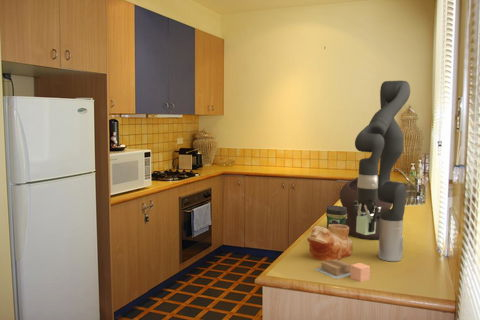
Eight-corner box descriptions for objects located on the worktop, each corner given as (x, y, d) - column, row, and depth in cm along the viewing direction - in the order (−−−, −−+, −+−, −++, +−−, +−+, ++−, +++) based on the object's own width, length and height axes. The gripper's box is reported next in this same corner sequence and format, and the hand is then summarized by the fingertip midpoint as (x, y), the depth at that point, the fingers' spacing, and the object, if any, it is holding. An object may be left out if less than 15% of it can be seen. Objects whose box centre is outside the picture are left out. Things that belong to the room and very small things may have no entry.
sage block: (365, 230, 179) (366, 215, 178) (375, 233, 175) (376, 218, 174) (356, 231, 177) (356, 216, 176) (365, 235, 172) (366, 219, 172)
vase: (340, 226, 252) (342, 172, 249) (392, 230, 244) (395, 175, 241) (335, 238, 227) (337, 178, 224) (392, 244, 219) (396, 182, 215)
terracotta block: (359, 278, 173) (359, 262, 173) (369, 282, 169) (370, 266, 168) (349, 280, 170) (350, 265, 170) (360, 285, 166) (361, 268, 166)
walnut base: (336, 266, 182) (336, 259, 182) (351, 272, 176) (351, 264, 175) (321, 269, 178) (321, 262, 178) (336, 276, 171) (336, 268, 171)
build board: (336, 266, 185) (336, 264, 185) (358, 276, 175) (359, 272, 175) (313, 272, 179) (314, 269, 178) (336, 282, 169) (336, 278, 168)
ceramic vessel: (297, 260, 192) (298, 225, 191) (332, 248, 211) (333, 216, 209) (324, 269, 183) (325, 232, 181) (359, 255, 201) (361, 221, 199)
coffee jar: (348, 244, 218) (349, 205, 216) (343, 248, 211) (344, 208, 209) (328, 241, 223) (329, 203, 221) (322, 245, 216) (324, 206, 214)
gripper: (389, 188, 169) (386, 233, 171) (361, 183, 182) (360, 225, 184) (373, 189, 166) (371, 236, 167) (347, 184, 178) (345, 227, 180)
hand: (365, 230), depth 176 cm, fingers closed on sage block, 5 cm apart
